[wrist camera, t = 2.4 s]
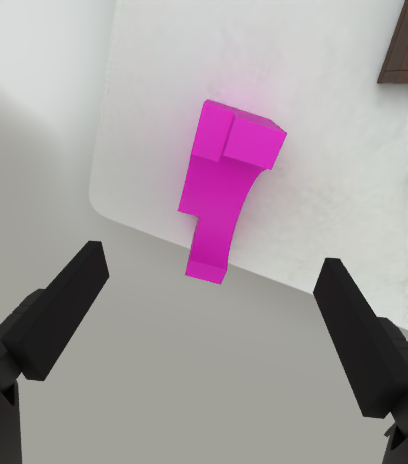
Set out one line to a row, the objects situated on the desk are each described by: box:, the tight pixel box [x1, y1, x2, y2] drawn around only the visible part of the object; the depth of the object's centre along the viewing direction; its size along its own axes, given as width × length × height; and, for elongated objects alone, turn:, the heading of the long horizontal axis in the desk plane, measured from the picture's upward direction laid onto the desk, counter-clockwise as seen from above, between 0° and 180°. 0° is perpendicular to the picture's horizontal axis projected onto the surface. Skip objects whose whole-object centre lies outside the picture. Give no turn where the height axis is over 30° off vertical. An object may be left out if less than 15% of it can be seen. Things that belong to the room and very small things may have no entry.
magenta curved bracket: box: [178, 99, 287, 284], centre depth 24 cm, size 15×6×8 cm, turn 164°
